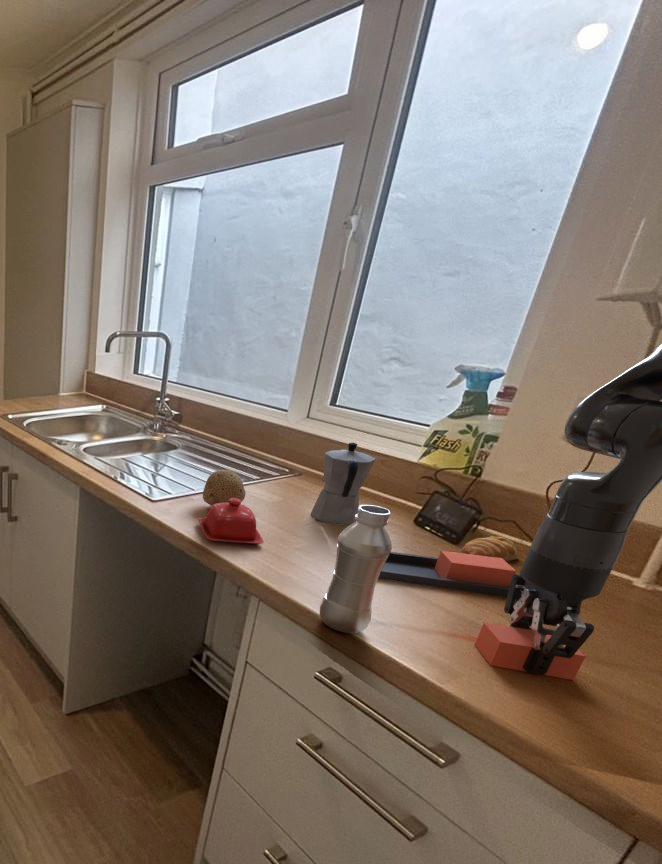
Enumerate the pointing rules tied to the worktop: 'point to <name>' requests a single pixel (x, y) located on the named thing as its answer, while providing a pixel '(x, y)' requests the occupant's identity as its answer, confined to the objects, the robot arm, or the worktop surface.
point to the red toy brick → (520, 650)
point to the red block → (474, 568)
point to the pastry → (491, 548)
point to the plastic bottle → (357, 571)
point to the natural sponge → (223, 487)
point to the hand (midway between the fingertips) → (522, 659)
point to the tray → (430, 575)
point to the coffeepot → (342, 485)
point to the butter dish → (231, 523)
